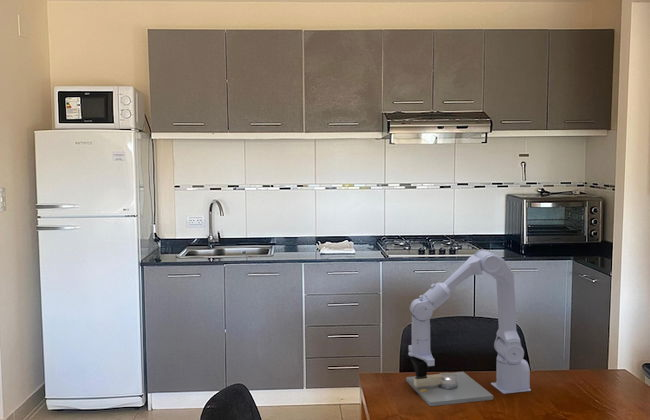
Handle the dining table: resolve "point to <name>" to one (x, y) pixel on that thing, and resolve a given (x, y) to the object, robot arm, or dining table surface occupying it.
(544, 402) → the dining table surface
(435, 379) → the door lever handle
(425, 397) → the lock plate
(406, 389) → the dining table surface
